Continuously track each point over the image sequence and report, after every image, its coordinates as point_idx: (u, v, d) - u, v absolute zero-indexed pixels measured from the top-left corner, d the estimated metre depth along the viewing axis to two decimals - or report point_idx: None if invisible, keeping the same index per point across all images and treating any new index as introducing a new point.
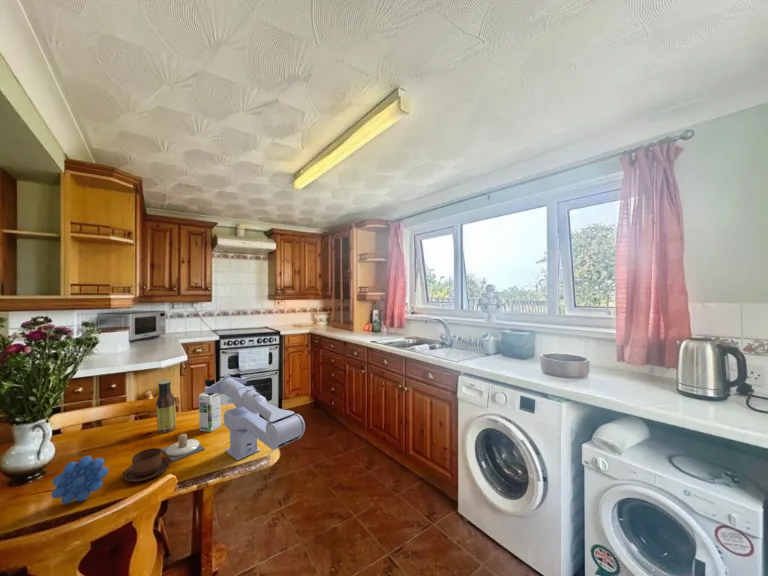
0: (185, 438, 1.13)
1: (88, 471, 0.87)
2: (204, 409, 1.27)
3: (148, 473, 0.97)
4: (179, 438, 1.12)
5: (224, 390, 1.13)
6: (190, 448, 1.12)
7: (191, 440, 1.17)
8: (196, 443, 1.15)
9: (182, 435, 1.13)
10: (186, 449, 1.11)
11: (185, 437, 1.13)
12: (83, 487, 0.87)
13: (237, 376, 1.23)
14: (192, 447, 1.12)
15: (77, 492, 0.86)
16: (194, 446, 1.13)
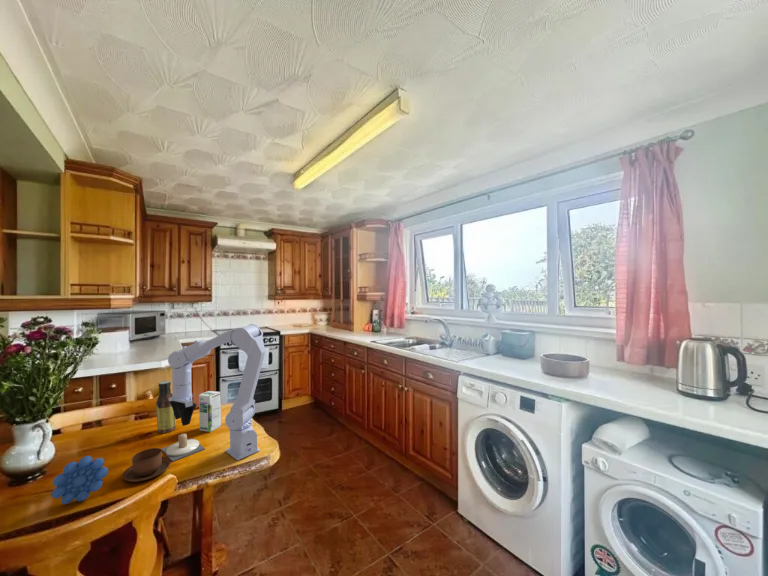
0: (185, 438, 1.13)
1: (88, 471, 0.87)
2: (204, 409, 1.27)
3: (148, 473, 0.97)
4: (179, 438, 1.12)
5: (184, 386, 1.11)
6: (190, 448, 1.12)
7: (191, 440, 1.17)
8: (196, 443, 1.15)
9: (182, 435, 1.13)
10: (186, 449, 1.11)
11: (185, 437, 1.13)
12: (83, 487, 0.87)
13: None
14: (192, 447, 1.12)
15: (77, 492, 0.86)
16: (194, 446, 1.13)
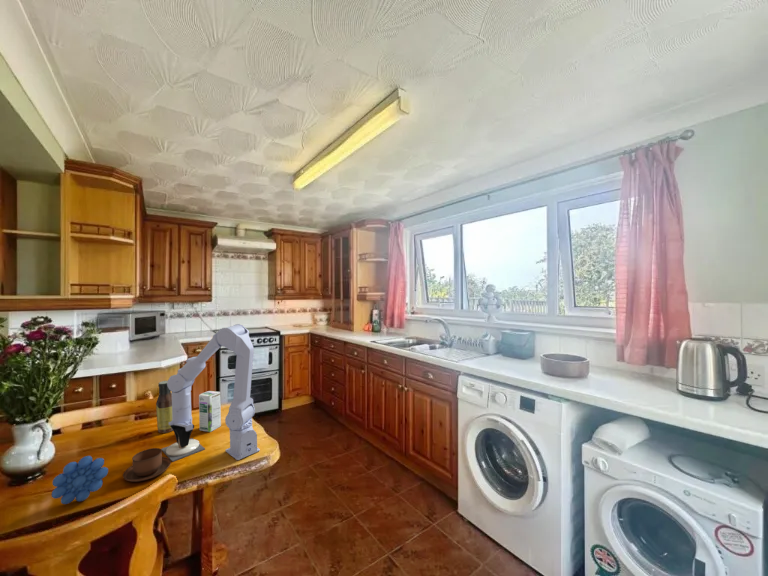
0: None
1: (88, 471, 0.87)
2: (204, 409, 1.27)
3: (148, 473, 0.97)
4: None
5: (184, 409, 1.11)
6: (190, 448, 1.12)
7: (191, 440, 1.17)
8: (196, 443, 1.15)
9: None
10: (186, 449, 1.11)
11: None
12: (83, 487, 0.87)
13: (174, 425, 1.13)
14: (192, 447, 1.12)
15: (77, 492, 0.86)
16: (194, 446, 1.13)
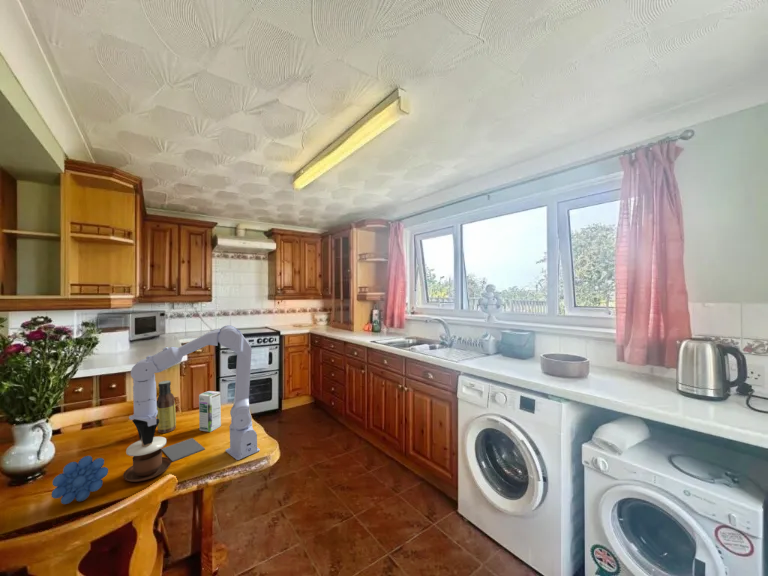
0: None
1: (88, 471, 0.87)
2: (204, 409, 1.27)
3: (149, 473, 0.97)
4: None
5: (146, 402, 0.97)
6: (155, 446, 0.98)
7: (157, 437, 1.04)
8: (163, 441, 1.01)
9: None
10: (150, 448, 0.97)
11: None
12: (83, 487, 0.87)
13: (137, 419, 1.00)
14: (157, 445, 0.99)
15: (77, 492, 0.86)
16: (160, 444, 0.99)
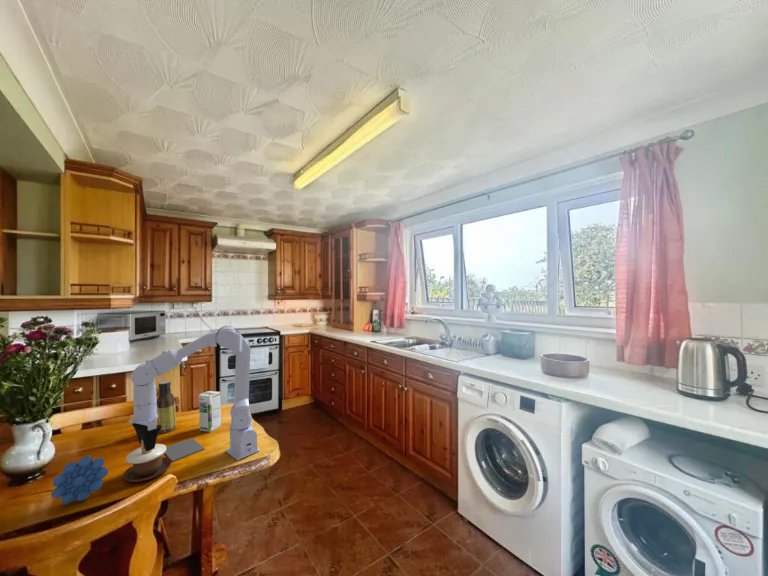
0: None
1: (88, 471, 0.87)
2: (204, 409, 1.27)
3: (149, 473, 0.97)
4: (142, 443, 0.98)
5: (147, 406, 0.97)
6: (155, 454, 0.98)
7: (157, 445, 1.04)
8: (162, 448, 1.01)
9: None
10: (150, 455, 0.97)
11: None
12: (83, 487, 0.87)
13: None
14: (157, 453, 0.99)
15: (77, 492, 0.86)
16: (160, 452, 0.99)
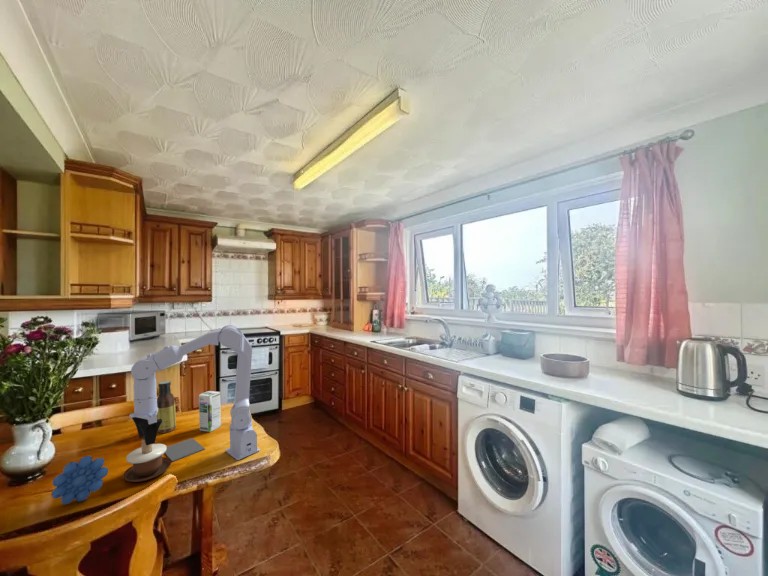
0: None
1: (88, 471, 0.87)
2: (204, 409, 1.27)
3: (149, 473, 0.97)
4: (142, 442, 0.98)
5: (147, 400, 0.97)
6: (155, 454, 0.98)
7: (157, 444, 1.03)
8: (163, 448, 1.01)
9: None
10: (150, 455, 0.97)
11: None
12: (83, 487, 0.87)
13: None
14: (158, 452, 0.99)
15: (77, 492, 0.86)
16: (160, 451, 0.99)
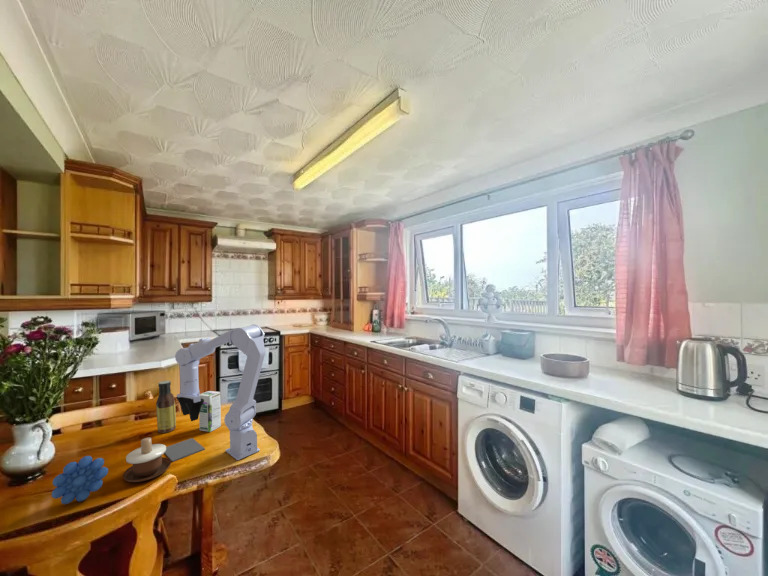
0: (149, 442, 0.99)
1: (88, 471, 0.87)
2: (204, 409, 1.27)
3: (148, 473, 0.97)
4: (142, 443, 0.98)
5: (191, 382, 1.14)
6: (155, 454, 0.98)
7: (157, 445, 1.03)
8: (162, 448, 1.01)
9: (146, 439, 0.99)
10: (150, 455, 0.97)
11: (149, 441, 0.99)
12: (83, 487, 0.87)
13: (180, 396, 1.18)
14: (157, 453, 0.99)
15: (77, 492, 0.86)
16: (160, 451, 0.99)
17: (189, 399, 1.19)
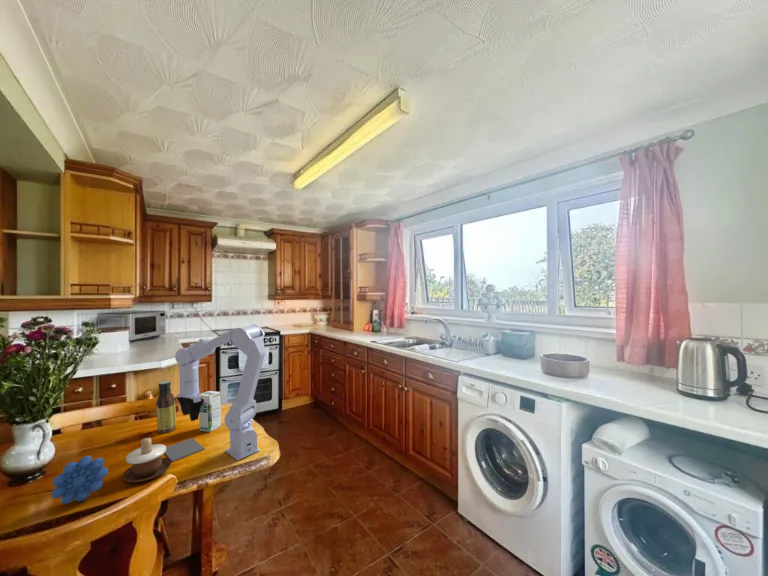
0: (149, 443, 0.99)
1: (88, 471, 0.87)
2: (204, 409, 1.27)
3: (148, 474, 0.97)
4: (142, 443, 0.98)
5: (191, 382, 1.14)
6: (155, 454, 0.98)
7: (157, 445, 1.03)
8: (162, 448, 1.01)
9: (146, 439, 0.99)
10: (150, 455, 0.97)
11: (149, 442, 0.99)
12: (83, 487, 0.87)
13: (180, 396, 1.18)
14: (157, 453, 0.98)
15: (77, 492, 0.86)
16: (160, 452, 0.99)
17: (189, 399, 1.19)
